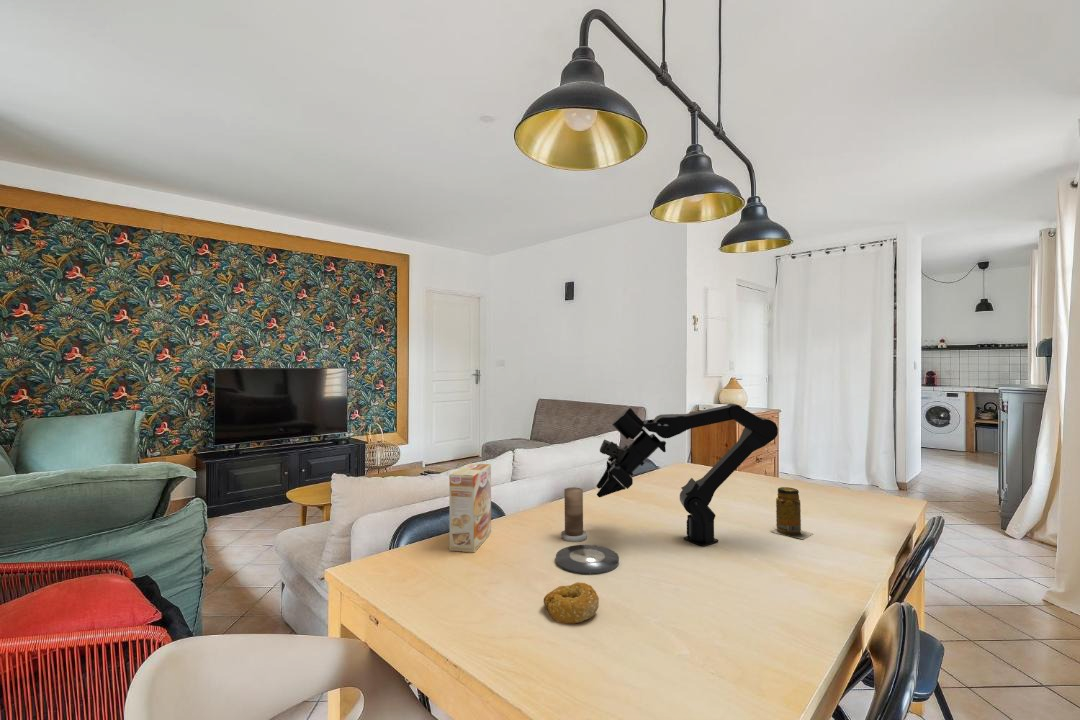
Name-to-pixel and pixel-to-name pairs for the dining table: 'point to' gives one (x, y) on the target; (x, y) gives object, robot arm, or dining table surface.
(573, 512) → the wooden peg on stand
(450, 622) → the dining table surface
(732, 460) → the robot arm
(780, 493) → the condiment
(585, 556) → the base plate
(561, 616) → the bagel
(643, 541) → the dining table surface
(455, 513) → the coffeecake box
